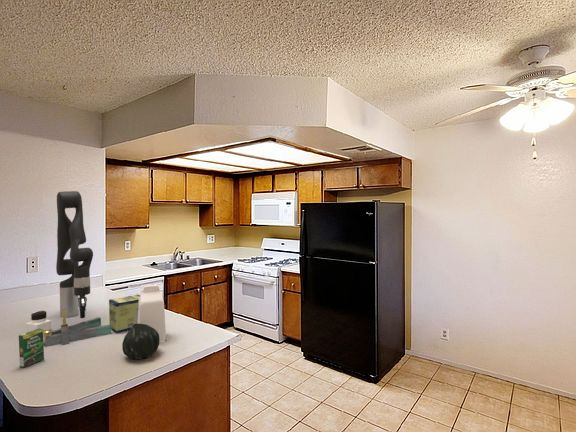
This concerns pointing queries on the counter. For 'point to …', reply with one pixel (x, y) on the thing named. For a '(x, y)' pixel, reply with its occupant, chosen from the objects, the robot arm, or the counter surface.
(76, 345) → the counter surface
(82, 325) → the tong arm
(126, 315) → the protein box
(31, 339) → the coffee box
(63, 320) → the lock pin
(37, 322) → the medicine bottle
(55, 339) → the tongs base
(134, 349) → the squash
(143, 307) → the milk
